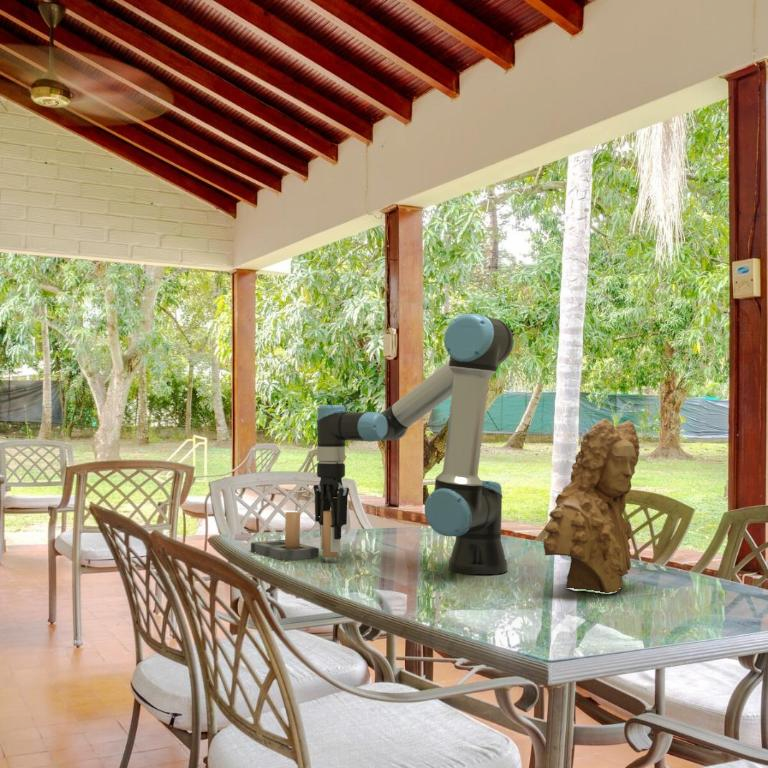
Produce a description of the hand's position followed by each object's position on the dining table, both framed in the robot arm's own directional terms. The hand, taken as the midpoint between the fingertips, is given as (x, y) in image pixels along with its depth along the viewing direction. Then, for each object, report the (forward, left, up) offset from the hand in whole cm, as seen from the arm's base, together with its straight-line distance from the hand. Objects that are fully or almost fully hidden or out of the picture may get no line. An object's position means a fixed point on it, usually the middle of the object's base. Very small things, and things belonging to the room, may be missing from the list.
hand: (330, 550), depth 230 cm
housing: (+16, +4, -3) cm, 17 cm away
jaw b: (0, 0, -2) cm, 2 cm away
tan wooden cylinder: (+12, +4, -3) cm, 14 cm away
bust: (-62, -33, -3) cm, 70 cm away
